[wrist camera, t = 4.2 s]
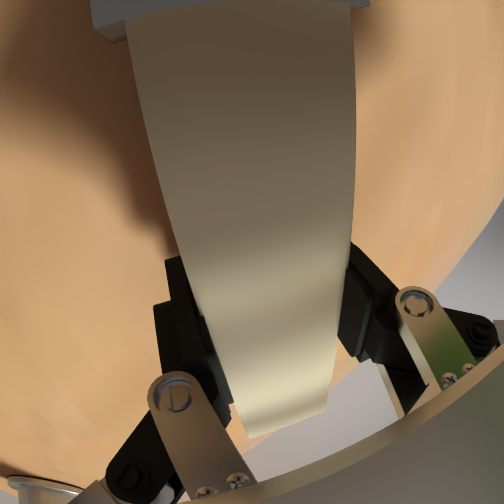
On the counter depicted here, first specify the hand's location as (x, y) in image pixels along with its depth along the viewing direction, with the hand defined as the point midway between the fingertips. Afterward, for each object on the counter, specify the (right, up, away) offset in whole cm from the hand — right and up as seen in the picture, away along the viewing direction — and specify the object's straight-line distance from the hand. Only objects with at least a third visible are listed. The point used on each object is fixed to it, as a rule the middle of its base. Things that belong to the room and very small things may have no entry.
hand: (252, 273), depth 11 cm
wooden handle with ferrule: (0, +3, -1) cm, 3 cm away
